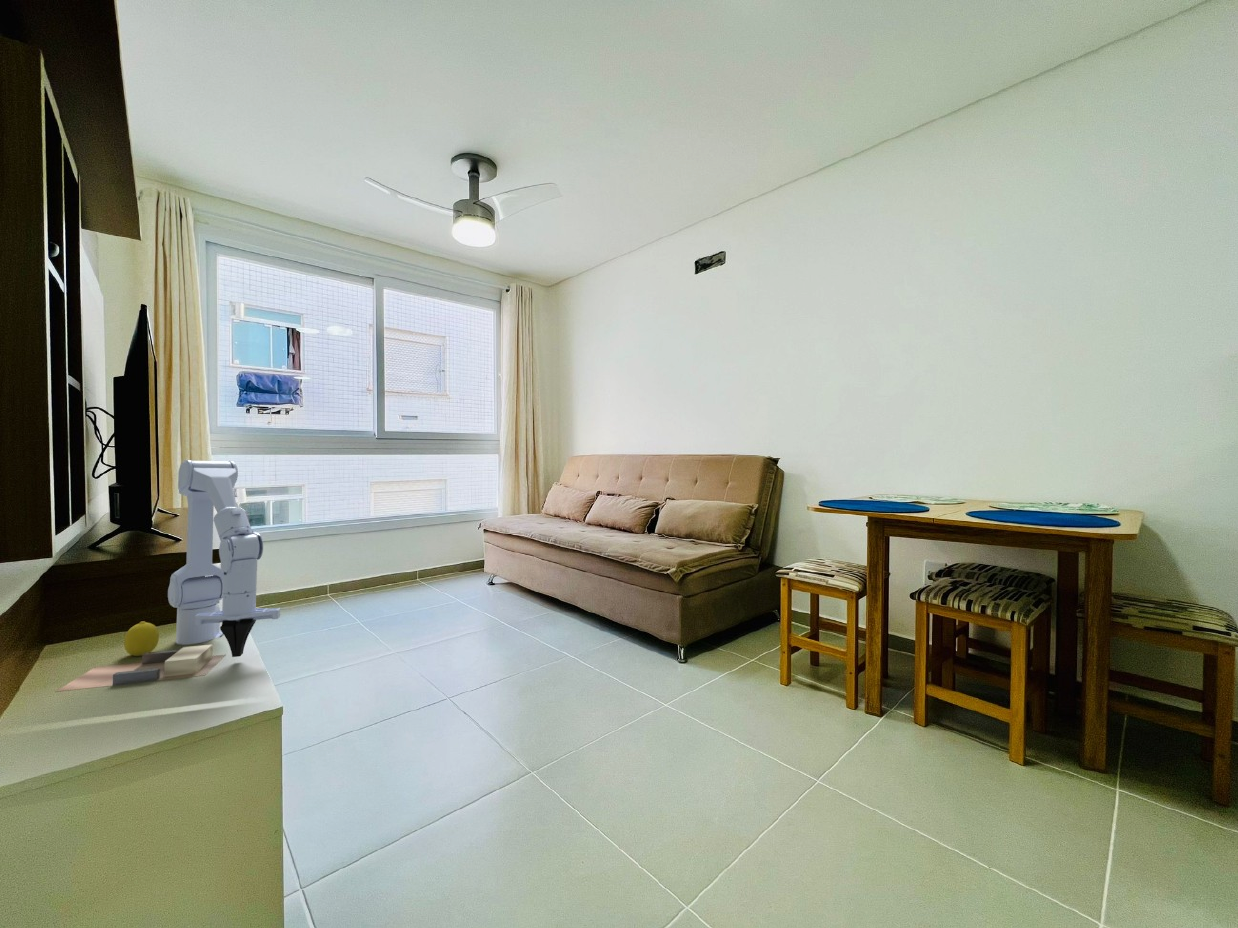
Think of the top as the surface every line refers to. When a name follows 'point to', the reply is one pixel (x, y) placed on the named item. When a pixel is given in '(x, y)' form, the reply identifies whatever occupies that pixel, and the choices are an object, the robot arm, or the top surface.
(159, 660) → the channel
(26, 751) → the top surface
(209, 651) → the block
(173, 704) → the top surface
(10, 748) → the top surface
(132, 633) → the lemon
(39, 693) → the top surface
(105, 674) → the board
